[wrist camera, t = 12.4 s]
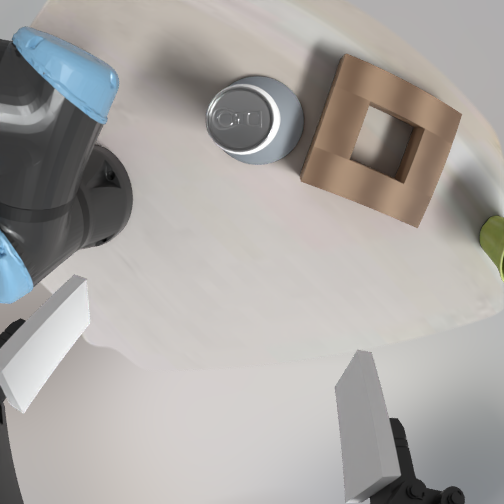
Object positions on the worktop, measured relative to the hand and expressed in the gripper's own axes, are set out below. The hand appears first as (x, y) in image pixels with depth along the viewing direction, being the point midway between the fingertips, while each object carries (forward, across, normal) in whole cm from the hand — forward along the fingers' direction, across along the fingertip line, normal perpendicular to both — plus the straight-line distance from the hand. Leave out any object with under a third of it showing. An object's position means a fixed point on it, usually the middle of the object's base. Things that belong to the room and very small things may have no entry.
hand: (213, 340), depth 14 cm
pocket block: (+28, +13, +11) cm, 32 cm away
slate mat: (+28, -2, +9) cm, 29 cm away
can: (+27, -3, +9) cm, 29 cm away
